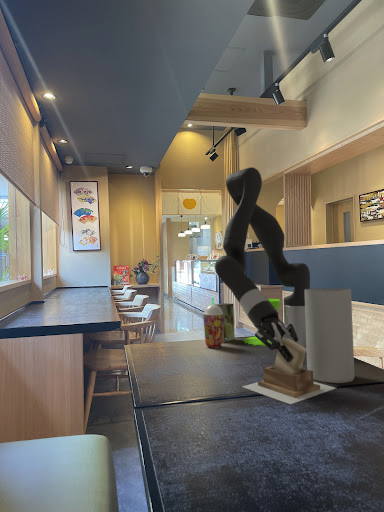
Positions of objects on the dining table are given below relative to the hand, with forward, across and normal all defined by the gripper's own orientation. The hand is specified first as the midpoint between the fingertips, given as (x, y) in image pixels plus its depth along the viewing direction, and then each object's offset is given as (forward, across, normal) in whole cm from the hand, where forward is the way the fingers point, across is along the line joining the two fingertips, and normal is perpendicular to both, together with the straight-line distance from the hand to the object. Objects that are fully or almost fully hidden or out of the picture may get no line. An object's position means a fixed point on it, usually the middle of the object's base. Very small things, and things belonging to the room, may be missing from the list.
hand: (295, 358), depth 92 cm
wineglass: (-30, +40, +40) cm, 64 cm away
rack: (+3, 0, +8) cm, 8 cm away
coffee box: (-41, +30, +50) cm, 71 cm away
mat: (+4, 0, +8) cm, 9 cm away
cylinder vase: (+5, +17, +7) cm, 19 cm away
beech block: (+1, 0, +7) cm, 7 cm away
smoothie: (-35, +18, +44) cm, 59 cm away
